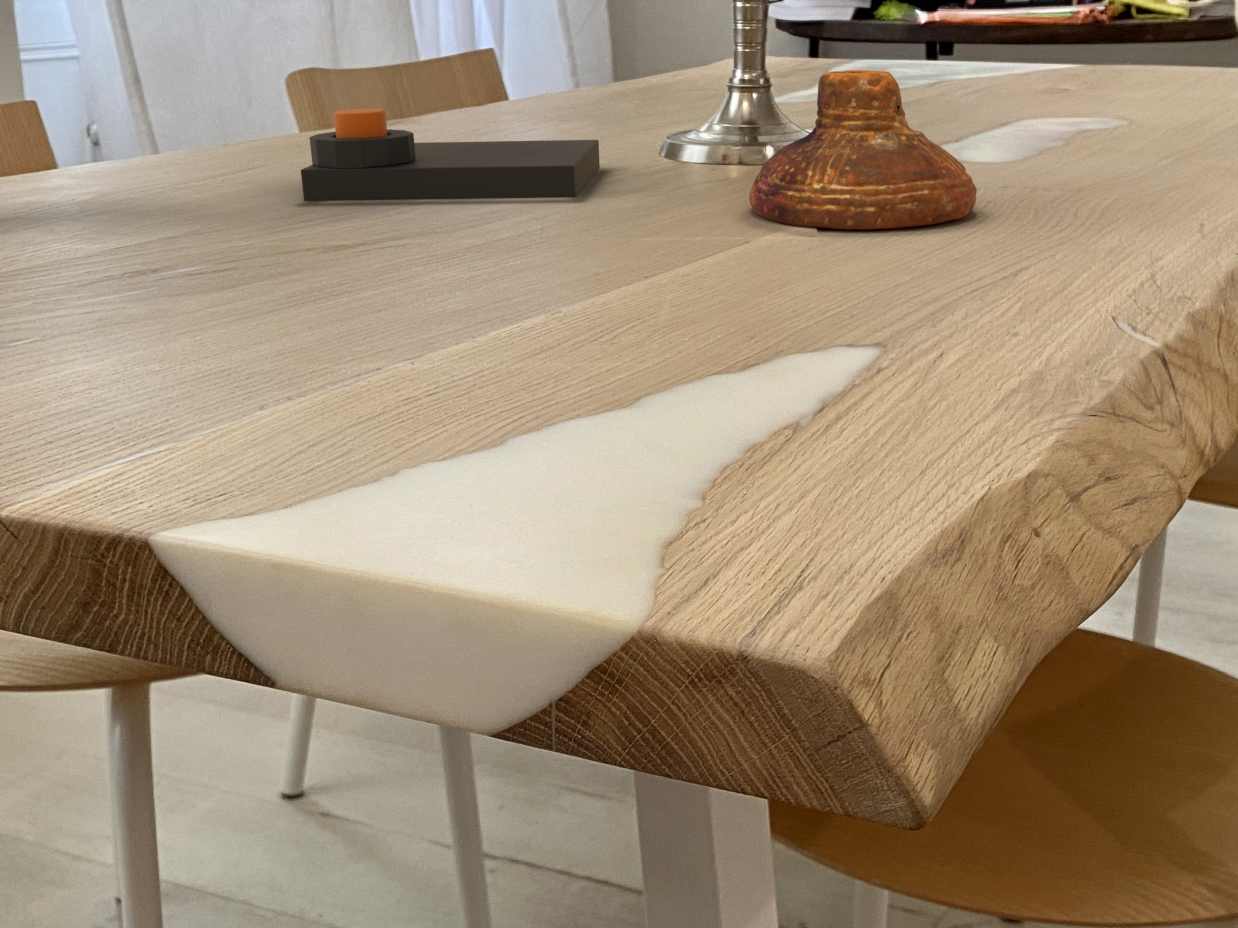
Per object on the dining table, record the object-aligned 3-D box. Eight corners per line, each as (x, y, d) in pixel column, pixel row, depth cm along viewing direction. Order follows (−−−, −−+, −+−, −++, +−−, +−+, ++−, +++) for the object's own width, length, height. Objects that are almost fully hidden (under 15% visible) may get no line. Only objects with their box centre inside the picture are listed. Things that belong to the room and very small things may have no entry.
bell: (795, 192, 84) (796, 61, 81) (1001, 202, 79) (1009, 62, 76) (711, 224, 74) (709, 76, 71) (940, 238, 69) (947, 79, 66)
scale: (303, 202, 85) (296, 141, 83) (362, 172, 97) (356, 118, 95) (575, 198, 83) (572, 136, 82) (599, 169, 96) (597, 114, 94)
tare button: (330, 144, 85) (327, 113, 84) (344, 138, 88) (341, 108, 87) (380, 143, 85) (378, 112, 84) (393, 137, 87) (390, 108, 87)
